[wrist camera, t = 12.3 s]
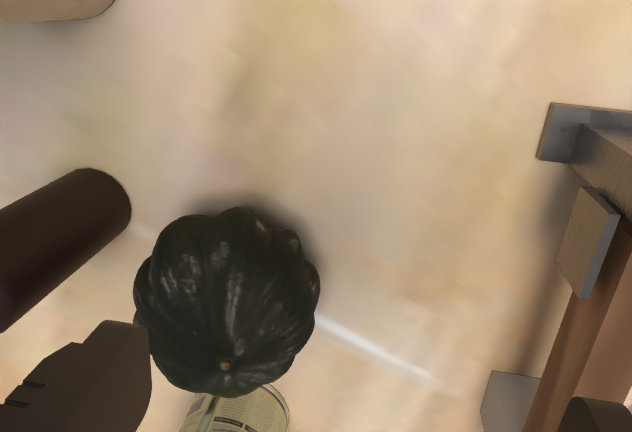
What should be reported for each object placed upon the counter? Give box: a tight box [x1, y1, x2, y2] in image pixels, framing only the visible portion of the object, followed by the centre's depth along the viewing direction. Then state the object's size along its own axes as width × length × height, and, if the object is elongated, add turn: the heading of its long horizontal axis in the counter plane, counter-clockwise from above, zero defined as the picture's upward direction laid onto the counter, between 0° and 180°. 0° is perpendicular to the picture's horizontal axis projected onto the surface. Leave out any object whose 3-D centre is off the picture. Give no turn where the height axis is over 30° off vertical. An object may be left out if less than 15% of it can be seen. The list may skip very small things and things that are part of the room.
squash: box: [133, 207, 320, 398], centre depth 38 cm, size 14×15×15 cm
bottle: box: [0, 169, 130, 333], centre depth 34 cm, size 7×7×20 cm
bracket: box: [536, 102, 632, 299], centre depth 29 cm, size 8×10×14 cm
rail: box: [522, 211, 632, 432], centre depth 33 cm, size 3×26×4 cm, turn 175°
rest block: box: [480, 371, 541, 432], centre depth 42 cm, size 5×5×7 cm
